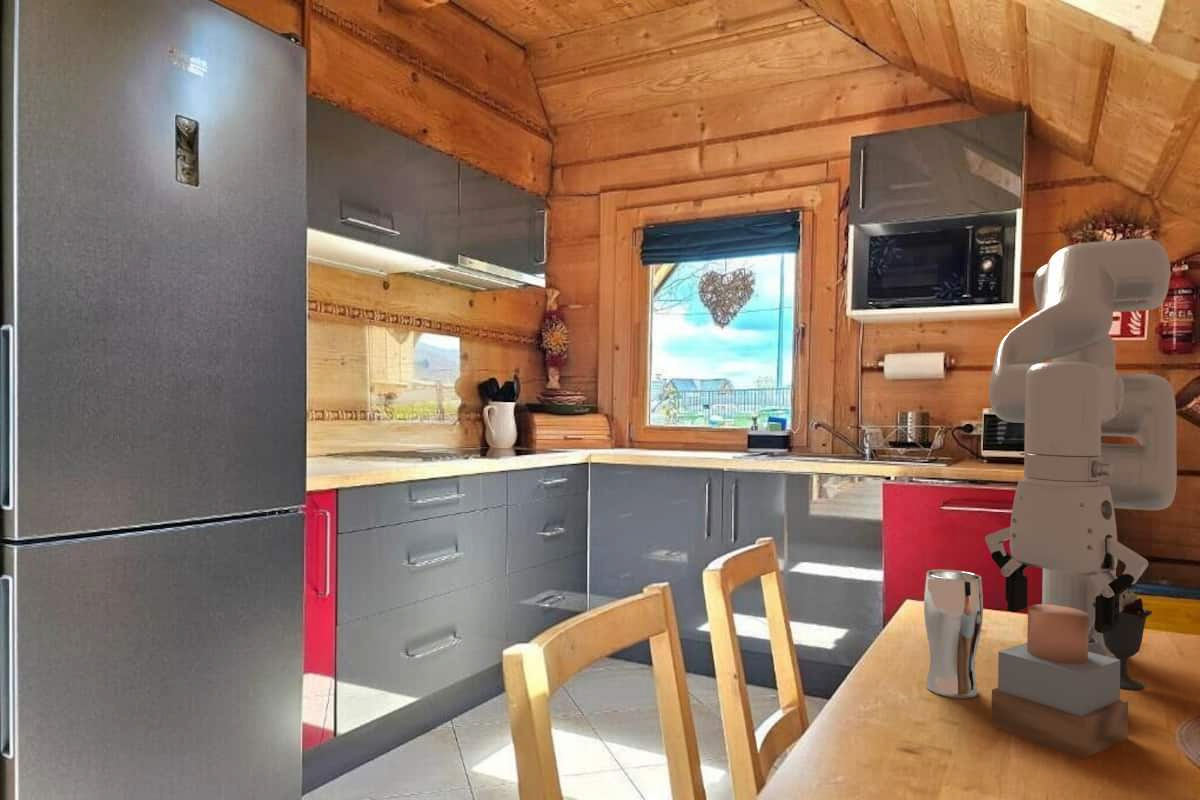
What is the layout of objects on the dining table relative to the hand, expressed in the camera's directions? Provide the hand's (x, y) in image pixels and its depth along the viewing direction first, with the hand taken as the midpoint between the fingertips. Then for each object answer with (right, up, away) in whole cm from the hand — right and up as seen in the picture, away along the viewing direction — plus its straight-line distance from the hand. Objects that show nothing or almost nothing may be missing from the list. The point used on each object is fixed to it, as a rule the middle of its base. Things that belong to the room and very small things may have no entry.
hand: (1059, 619), depth 90 cm
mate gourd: (+8, -13, +9) cm, 18 cm away
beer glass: (-7, -13, +12) cm, 19 cm away
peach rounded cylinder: (0, -4, 0) cm, 4 cm away
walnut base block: (0, -13, 0) cm, 13 cm away
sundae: (+18, -13, +16) cm, 27 cm away
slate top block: (0, -9, 0) cm, 9 cm away
